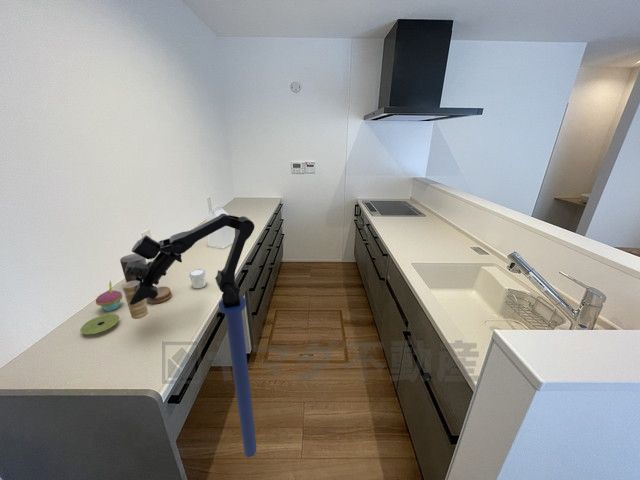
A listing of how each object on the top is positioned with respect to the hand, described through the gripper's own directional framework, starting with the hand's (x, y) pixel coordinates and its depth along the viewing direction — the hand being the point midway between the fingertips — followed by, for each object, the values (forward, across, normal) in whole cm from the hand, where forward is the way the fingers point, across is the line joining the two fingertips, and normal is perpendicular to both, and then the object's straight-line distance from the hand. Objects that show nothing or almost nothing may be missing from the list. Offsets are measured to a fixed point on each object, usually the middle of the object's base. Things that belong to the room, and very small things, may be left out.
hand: (131, 300), depth 93 cm
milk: (-24, -68, +41) cm, 83 cm away
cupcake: (+15, -20, +2) cm, 25 cm away
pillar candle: (+9, -37, +9) cm, 39 cm away
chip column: (+4, 0, +6) cm, 7 cm away
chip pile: (+3, -18, +14) cm, 23 cm away
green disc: (+17, -7, 0) cm, 18 cm away
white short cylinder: (-9, -20, +26) cm, 34 cm away
